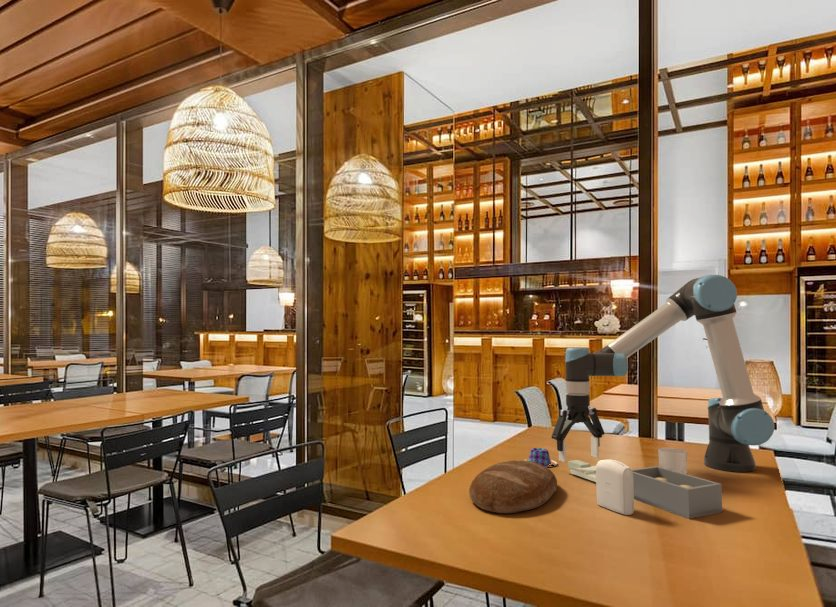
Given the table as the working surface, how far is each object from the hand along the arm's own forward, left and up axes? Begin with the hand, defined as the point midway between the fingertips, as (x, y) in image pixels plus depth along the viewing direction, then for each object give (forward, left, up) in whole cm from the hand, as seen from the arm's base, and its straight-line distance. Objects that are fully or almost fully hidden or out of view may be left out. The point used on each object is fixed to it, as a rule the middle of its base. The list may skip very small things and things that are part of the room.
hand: (578, 459), depth 176 cm
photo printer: (+18, +34, -4) cm, 39 cm away
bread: (+34, +13, -4) cm, 37 cm away
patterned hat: (+6, -13, -4) cm, 15 cm away
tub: (+1, +37, -4) cm, 37 cm away
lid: (0, +10, -4) cm, 11 cm away
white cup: (-15, +24, -4) cm, 29 cm away
